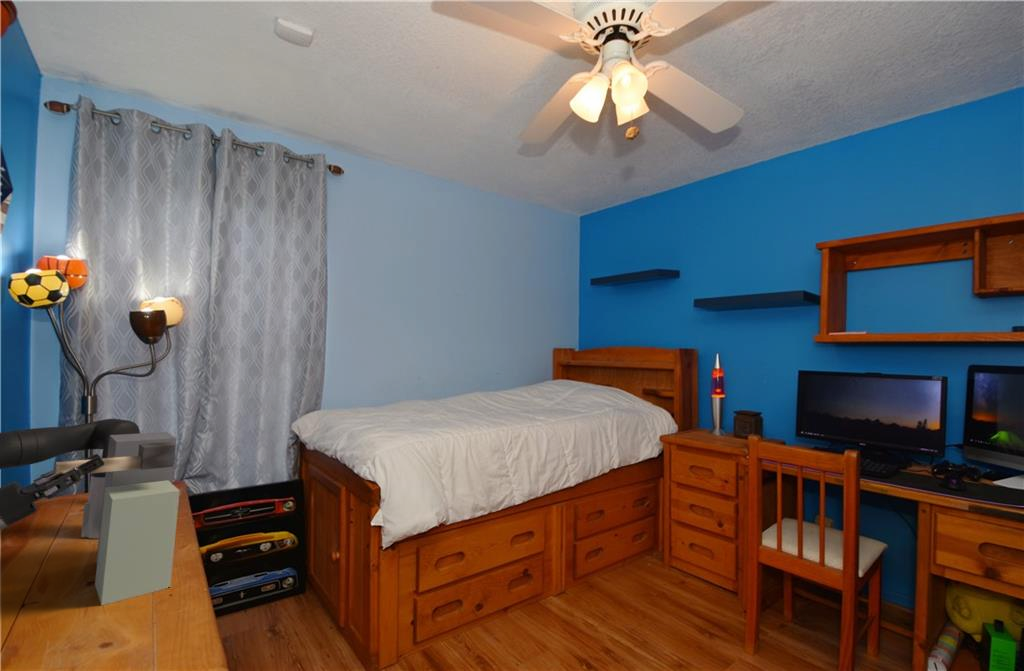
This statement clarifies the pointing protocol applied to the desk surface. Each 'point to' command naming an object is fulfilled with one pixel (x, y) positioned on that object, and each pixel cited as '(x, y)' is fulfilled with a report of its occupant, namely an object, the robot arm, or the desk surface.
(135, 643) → the desk surface
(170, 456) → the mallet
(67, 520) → the desk surface
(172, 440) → the stand
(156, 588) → the stand
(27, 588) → the desk surface
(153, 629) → the desk surface
